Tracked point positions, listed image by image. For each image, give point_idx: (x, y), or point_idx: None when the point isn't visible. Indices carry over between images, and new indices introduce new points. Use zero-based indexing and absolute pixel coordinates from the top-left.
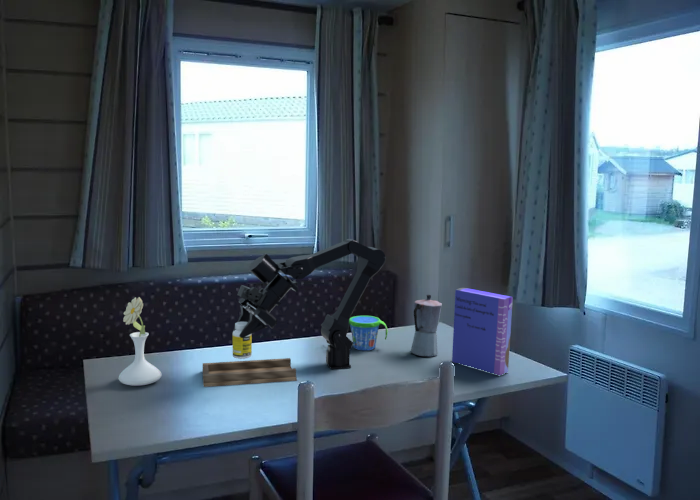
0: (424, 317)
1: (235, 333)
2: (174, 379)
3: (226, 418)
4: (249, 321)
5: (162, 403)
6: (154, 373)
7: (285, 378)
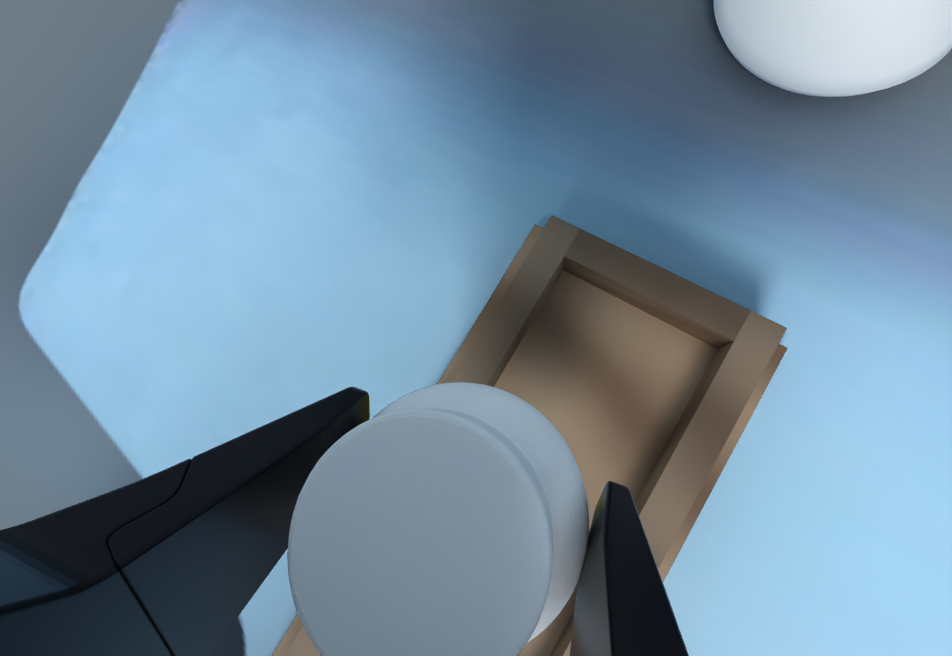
0: None
1: (440, 388)
2: (743, 167)
3: (199, 145)
4: (97, 537)
5: (485, 20)
6: (759, 14)
7: (293, 625)
